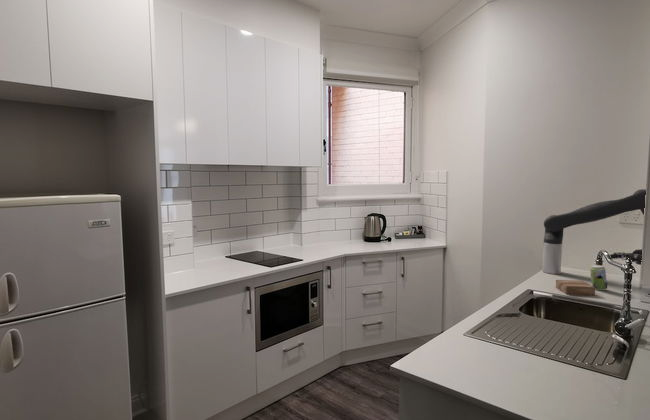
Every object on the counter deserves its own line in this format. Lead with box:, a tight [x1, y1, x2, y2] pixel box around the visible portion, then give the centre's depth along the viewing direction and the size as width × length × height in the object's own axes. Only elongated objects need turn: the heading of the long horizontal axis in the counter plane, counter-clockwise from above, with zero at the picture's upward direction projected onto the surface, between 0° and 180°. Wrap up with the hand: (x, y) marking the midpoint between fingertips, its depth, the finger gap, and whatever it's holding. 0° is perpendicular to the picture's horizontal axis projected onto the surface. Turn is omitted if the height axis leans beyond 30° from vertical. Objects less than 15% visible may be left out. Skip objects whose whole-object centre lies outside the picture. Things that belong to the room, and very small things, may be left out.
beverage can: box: [589, 264, 608, 291], centre depth 187 cm, size 6×7×12 cm
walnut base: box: [555, 279, 596, 297], centre depth 184 cm, size 12×12×4 cm
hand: (618, 258), depth 188 cm, fingers open, 8 cm apart
